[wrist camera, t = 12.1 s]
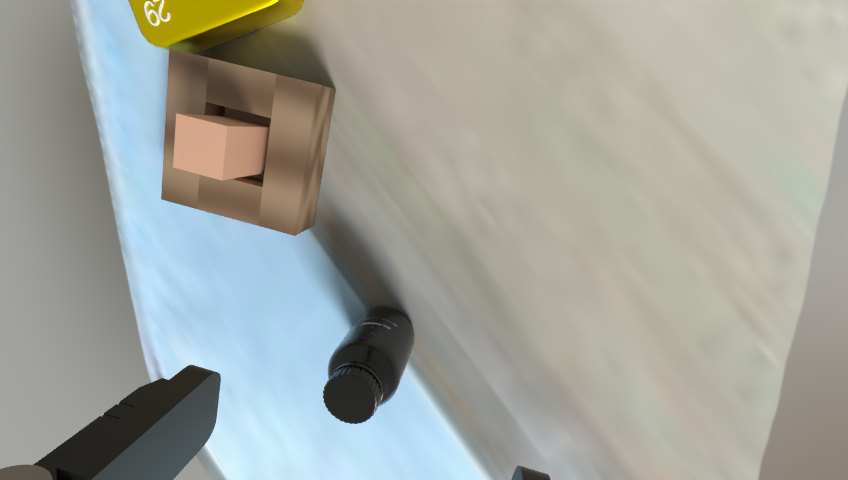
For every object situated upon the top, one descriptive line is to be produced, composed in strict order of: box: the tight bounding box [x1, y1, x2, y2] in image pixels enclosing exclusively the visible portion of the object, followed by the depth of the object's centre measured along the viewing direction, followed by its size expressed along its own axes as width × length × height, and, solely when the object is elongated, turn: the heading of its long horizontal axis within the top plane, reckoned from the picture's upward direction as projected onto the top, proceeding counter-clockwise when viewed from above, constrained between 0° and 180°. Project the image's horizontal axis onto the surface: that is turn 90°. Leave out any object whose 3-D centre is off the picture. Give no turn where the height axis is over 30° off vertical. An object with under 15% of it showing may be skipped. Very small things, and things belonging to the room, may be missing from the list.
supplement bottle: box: [323, 307, 414, 424], centre depth 40 cm, size 7×7×12 cm
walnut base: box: [161, 49, 336, 236], centre depth 40 cm, size 14×14×4 cm
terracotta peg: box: [173, 113, 270, 180], centre depth 37 cm, size 4×4×8 cm
